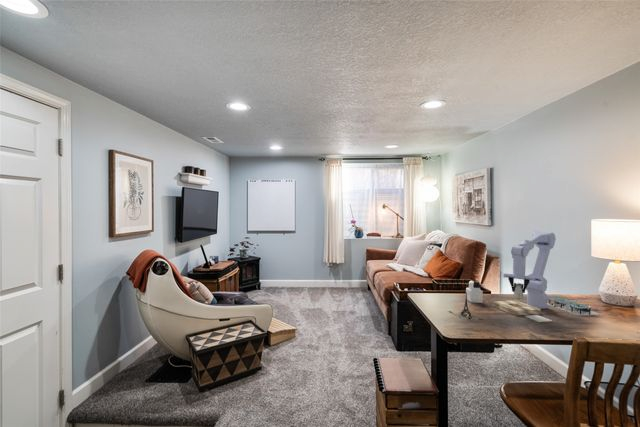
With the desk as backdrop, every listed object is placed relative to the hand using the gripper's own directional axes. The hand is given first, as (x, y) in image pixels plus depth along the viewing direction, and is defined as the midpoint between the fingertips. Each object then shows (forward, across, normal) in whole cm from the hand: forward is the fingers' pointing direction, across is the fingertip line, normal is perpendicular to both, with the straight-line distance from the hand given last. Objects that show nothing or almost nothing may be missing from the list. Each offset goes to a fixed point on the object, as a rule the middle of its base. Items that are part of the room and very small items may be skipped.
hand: (518, 292), depth 165 cm
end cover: (+3, 0, 0) cm, 3 cm away
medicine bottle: (+11, -22, +5) cm, 25 cm away
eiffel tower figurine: (+11, -23, -26) cm, 36 cm away
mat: (+10, +9, -9) cm, 16 cm away
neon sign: (+11, +30, +28) cm, 43 cm away
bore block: (+10, -1, +1) cm, 11 cm away
